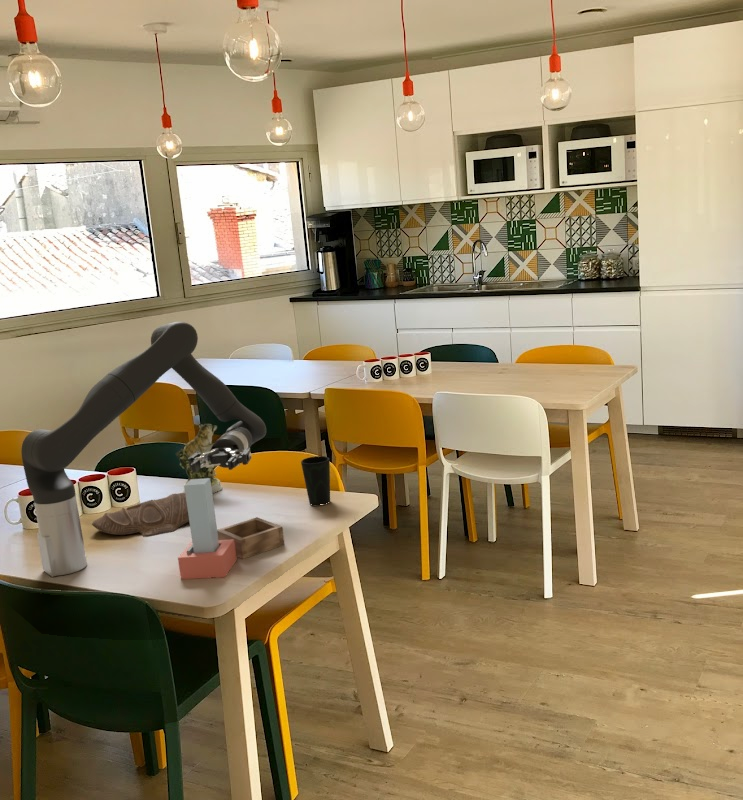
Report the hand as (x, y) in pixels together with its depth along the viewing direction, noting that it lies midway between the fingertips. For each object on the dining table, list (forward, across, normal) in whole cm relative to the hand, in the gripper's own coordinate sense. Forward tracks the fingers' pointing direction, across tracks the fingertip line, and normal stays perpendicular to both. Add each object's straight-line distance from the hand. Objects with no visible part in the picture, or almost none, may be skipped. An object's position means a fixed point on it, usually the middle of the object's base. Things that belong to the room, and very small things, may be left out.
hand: (211, 466), depth 212 cm
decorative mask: (-24, -27, +21) cm, 42 cm away
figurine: (-52, -21, +21) cm, 60 cm away
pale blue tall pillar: (+11, 0, +20) cm, 23 cm away
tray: (-2, +6, +21) cm, 22 cm away
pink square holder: (+11, 0, +21) cm, 23 cm away
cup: (-33, +18, +21) cm, 43 cm away
